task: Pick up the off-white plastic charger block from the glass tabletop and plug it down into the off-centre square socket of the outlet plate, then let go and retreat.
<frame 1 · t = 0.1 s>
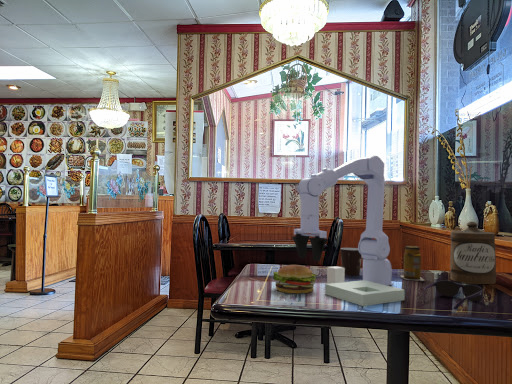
hand: (309, 259, 124), 10 cm above the table, tool pointing down, fingers open, 7 cm apart
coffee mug: (349, 275, 156), on the table
condiment: (412, 279, 150), on the table
outlet plate: (363, 297, 117), on the table
sunglasses: (451, 303, 113), on the table
wooden container: (472, 281, 147), on the table
food: (294, 290, 126), on the table
charger block: (335, 287, 131), on the table
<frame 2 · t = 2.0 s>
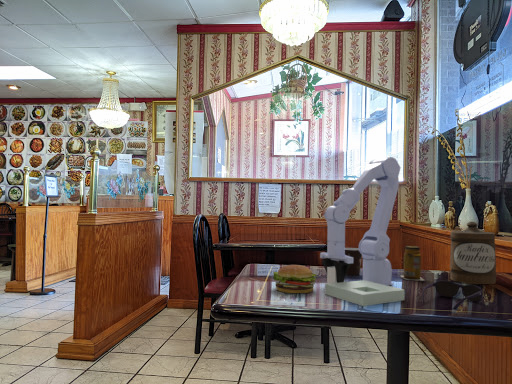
hand: (335, 282, 131), 1 cm above the table, tool pointing down, fingers closed on charger block, 4 cm apart
charger block: (335, 287, 131), on the table, touching gripper
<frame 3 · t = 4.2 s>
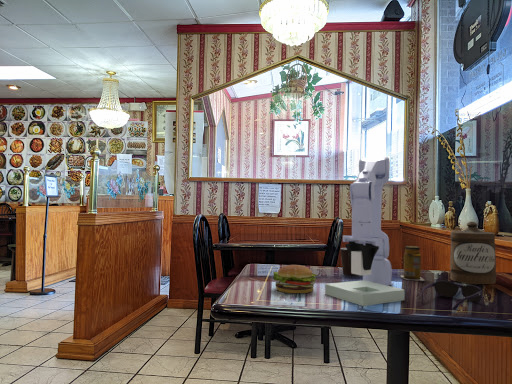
hand: (361, 268, 116), 8 cm above the table, tool pointing down, fingers closed on charger block, 4 cm apart
charger block: (361, 273, 116), point 7 cm above the table, touching gripper
when the fingers open (3 cm above the table, at t = 6.8 s): charger block drops 2 cm, resting in outlet plate.
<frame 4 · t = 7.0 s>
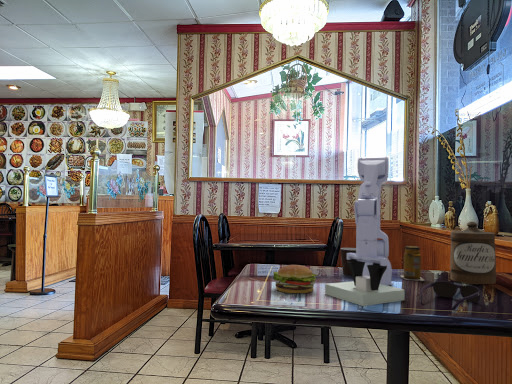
hand: (366, 287, 113), 3 cm above the table, tool pointing down, fingers open, 6 cm apart
charger block: (365, 300, 113), resting in outlet plate
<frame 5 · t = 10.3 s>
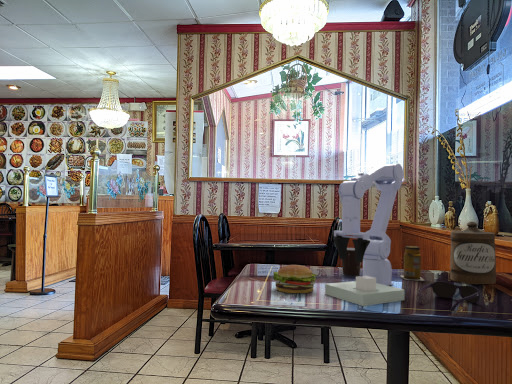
hand: (350, 260, 126), 9 cm above the table, tool pointing down, fingers open, 7 cm apart
at the end: charger block 0.1 cm from the target spot on the outlet plate, point 0.0 cm above the outlet plate's base; charger block tilted 0°; the gripper is holding nothing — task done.
